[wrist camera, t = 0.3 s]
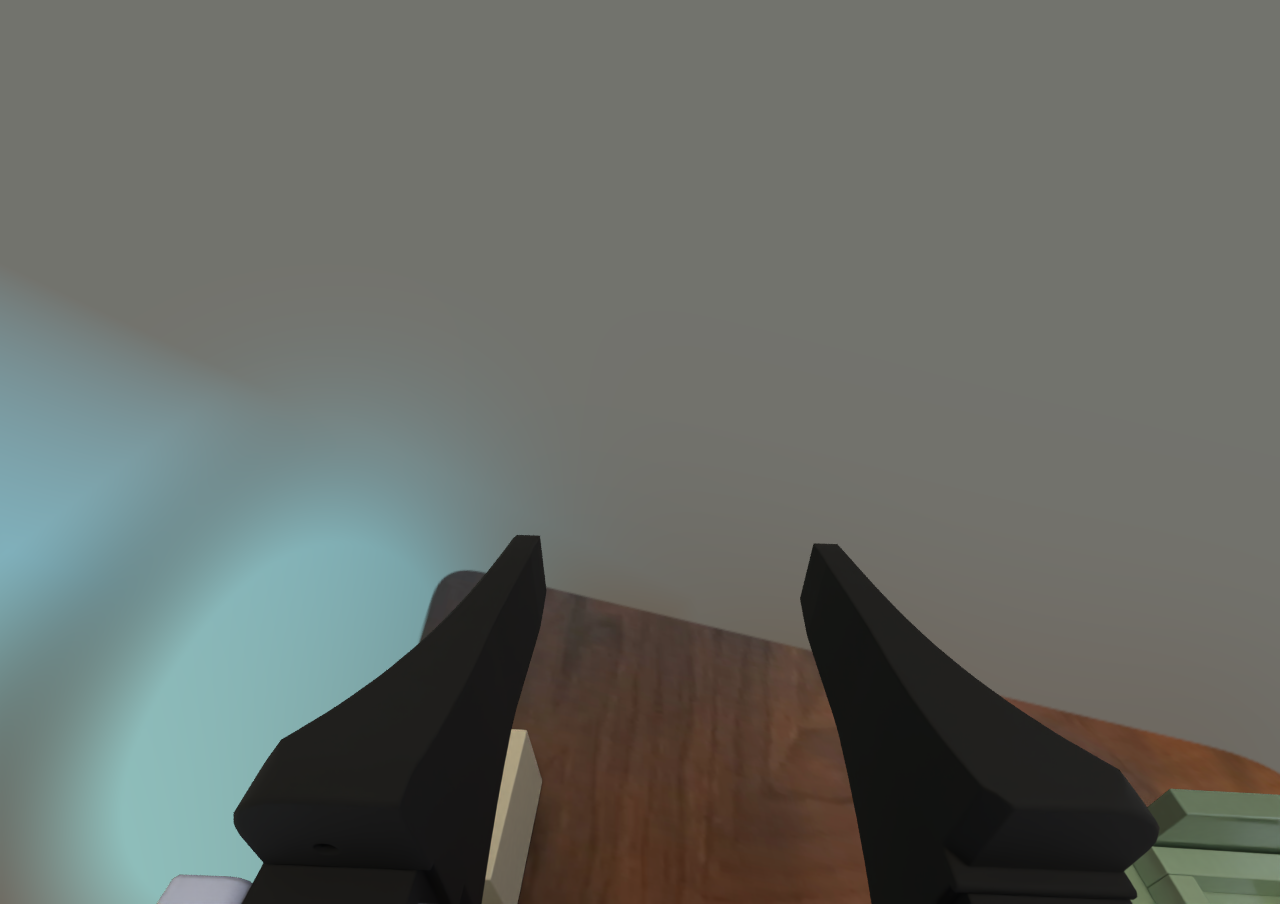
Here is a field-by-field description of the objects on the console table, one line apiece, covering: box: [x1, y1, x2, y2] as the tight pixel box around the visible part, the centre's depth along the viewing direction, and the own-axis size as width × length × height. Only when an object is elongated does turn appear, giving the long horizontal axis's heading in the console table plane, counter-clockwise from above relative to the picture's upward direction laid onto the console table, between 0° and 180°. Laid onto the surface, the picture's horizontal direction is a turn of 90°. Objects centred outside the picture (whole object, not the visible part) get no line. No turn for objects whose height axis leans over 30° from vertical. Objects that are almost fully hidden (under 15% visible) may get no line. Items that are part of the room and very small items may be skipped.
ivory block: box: [482, 729, 542, 904], centre depth 25 cm, size 6×4×6 cm, turn 176°
